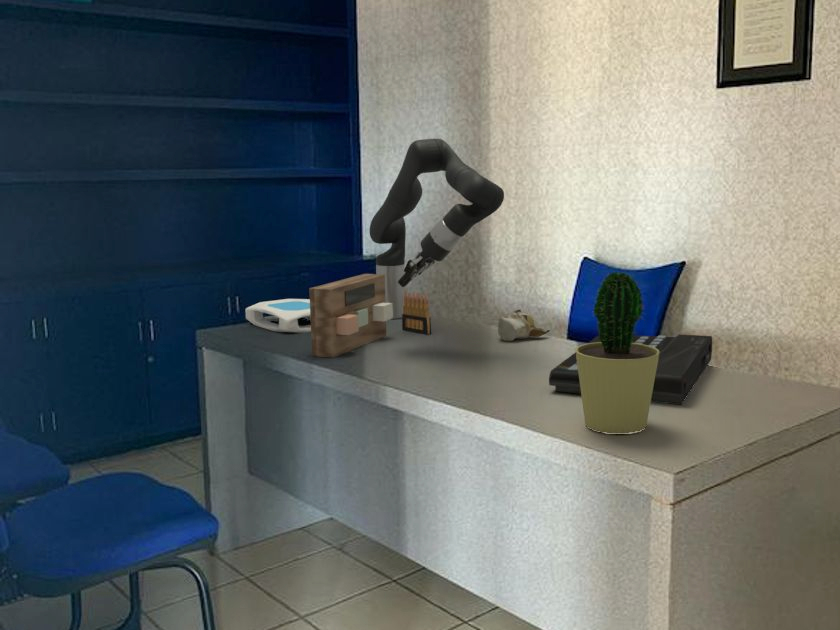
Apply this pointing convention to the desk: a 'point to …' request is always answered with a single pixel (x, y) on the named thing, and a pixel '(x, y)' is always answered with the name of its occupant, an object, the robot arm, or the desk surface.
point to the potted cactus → (617, 361)
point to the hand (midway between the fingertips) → (401, 284)
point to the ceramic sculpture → (518, 327)
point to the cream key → (382, 311)
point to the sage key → (362, 316)
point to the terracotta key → (347, 324)
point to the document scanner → (280, 315)
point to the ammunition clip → (416, 314)
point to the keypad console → (341, 301)
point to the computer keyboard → (674, 369)
